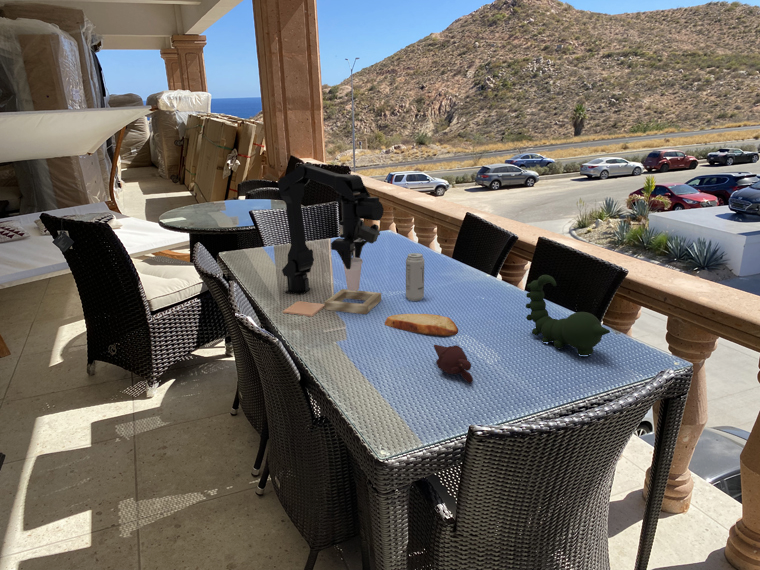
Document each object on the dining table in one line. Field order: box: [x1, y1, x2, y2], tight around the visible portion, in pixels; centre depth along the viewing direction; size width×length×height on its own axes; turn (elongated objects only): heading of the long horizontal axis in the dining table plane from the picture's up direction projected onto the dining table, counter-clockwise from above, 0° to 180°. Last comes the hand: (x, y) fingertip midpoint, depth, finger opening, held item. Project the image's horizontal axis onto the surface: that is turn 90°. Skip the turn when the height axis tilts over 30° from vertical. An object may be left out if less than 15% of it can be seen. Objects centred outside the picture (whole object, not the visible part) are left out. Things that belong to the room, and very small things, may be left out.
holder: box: [323, 288, 382, 315], centre depth 170 cm, size 14×14×2 cm
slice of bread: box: [384, 313, 459, 337], centre depth 151 cm, size 18×18×4 cm
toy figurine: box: [525, 274, 611, 355], centre depth 135 cm, size 9×19×25 cm
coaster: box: [282, 300, 325, 318], centre depth 167 cm, size 10×10×1 cm
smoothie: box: [342, 246, 364, 291], centre depth 167 cm, size 6×6×14 cm
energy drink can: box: [405, 252, 425, 302], centre depth 174 cm, size 6×6×15 cm
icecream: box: [433, 344, 474, 384], centre depth 124 cm, size 7×7×15 cm
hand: (352, 266), depth 167 cm, fingers closed on smoothie, 6 cm apart
